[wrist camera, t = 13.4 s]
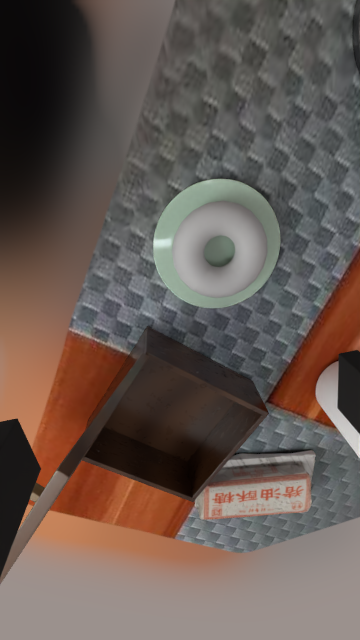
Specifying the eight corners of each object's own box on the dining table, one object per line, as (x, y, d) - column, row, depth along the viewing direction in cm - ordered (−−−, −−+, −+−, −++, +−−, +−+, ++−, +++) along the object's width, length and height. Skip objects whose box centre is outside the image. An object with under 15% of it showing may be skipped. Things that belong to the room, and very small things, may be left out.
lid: (70, 477, 16) (-14, 424, 16) (-37, 640, 21) (-102, 599, 21) (149, 356, 33) (107, 329, 33) (79, 463, 37) (42, 440, 37)
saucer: (292, 189, 34) (295, 189, 34) (261, 311, 40) (263, 314, 39) (160, 168, 33) (161, 168, 32) (147, 299, 38) (146, 302, 37)
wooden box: (253, 381, 43) (269, 413, 37) (188, 462, 48) (193, 502, 42) (147, 325, 39) (146, 352, 33) (87, 420, 44) (77, 458, 38)
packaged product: (198, 533, 47) (198, 483, 43) (194, 503, 52) (194, 455, 48) (318, 523, 48) (329, 474, 44) (304, 494, 53) (313, 447, 49)
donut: (276, 218, 35) (189, 185, 33) (289, 222, 32) (194, 185, 29) (239, 302, 38) (158, 277, 36) (248, 313, 35) (159, 286, 33)
